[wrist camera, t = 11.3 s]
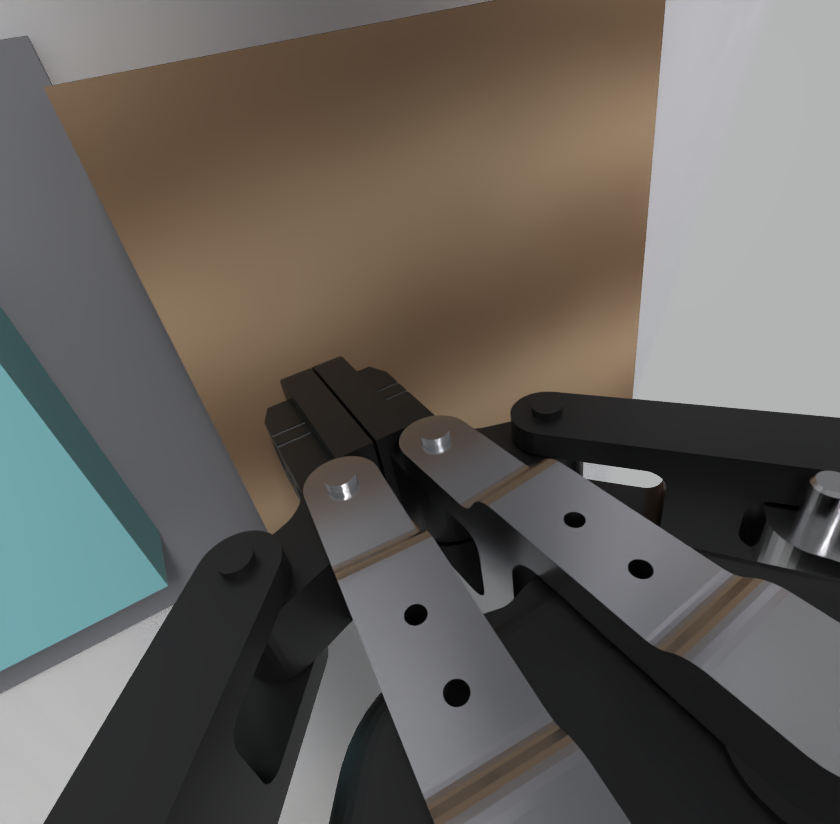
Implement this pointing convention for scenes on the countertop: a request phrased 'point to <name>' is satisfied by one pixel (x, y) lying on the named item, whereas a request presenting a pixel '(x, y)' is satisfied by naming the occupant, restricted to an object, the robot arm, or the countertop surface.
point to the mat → (104, 349)
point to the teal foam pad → (61, 516)
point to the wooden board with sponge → (389, 208)
